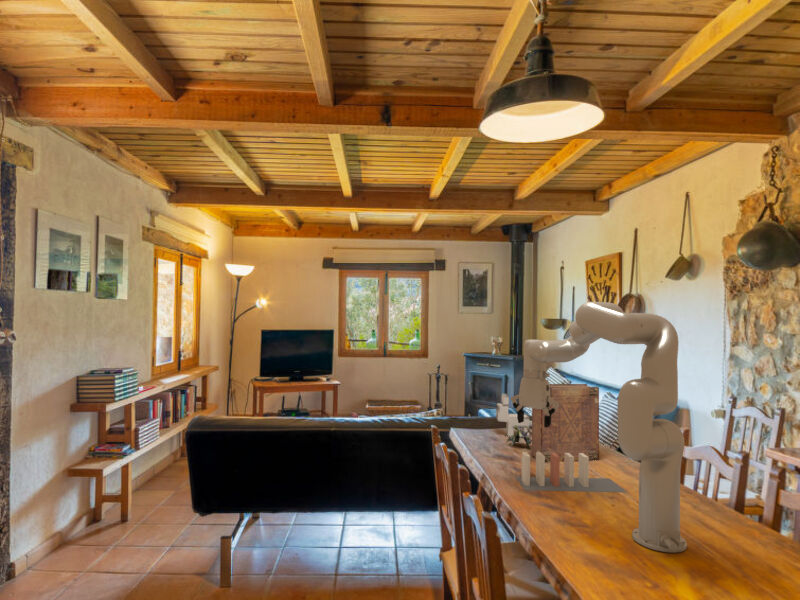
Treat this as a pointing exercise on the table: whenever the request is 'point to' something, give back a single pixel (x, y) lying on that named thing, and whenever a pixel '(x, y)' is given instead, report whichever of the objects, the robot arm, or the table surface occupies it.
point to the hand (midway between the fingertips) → (533, 424)
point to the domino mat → (594, 485)
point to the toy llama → (510, 416)
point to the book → (568, 423)
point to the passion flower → (520, 436)
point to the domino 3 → (554, 469)
